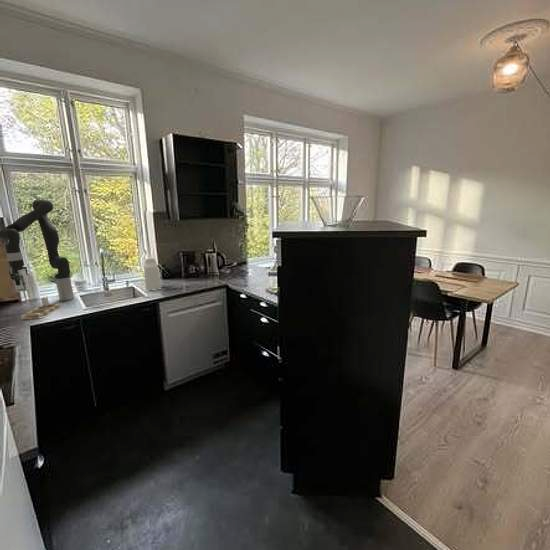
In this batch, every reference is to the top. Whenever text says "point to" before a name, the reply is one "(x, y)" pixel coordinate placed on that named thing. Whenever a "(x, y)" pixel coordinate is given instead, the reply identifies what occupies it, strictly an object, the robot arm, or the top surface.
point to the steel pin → (45, 302)
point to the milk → (152, 274)
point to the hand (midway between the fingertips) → (21, 283)
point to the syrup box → (22, 281)
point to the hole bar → (40, 311)
